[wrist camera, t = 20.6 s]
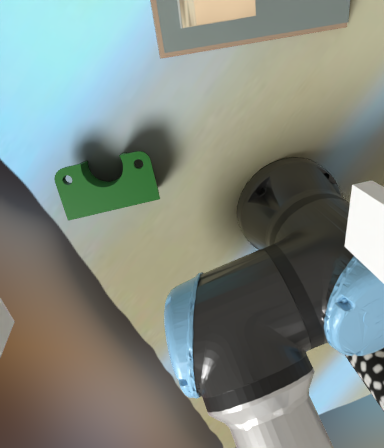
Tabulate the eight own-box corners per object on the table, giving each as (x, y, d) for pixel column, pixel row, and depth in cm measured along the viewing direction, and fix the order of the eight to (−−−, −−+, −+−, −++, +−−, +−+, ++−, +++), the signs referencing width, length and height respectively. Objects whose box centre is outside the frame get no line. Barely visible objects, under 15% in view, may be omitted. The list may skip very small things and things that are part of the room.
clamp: (134, 149, 46) (161, 146, 38) (144, 190, 47) (172, 194, 40) (46, 170, 41) (56, 171, 33) (61, 215, 42) (75, 226, 35)
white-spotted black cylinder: (353, 302, 63) (437, 399, 46) (374, 318, 67) (458, 414, 50) (321, 328, 66) (389, 430, 49) (342, 342, 69) (413, 442, 52)
